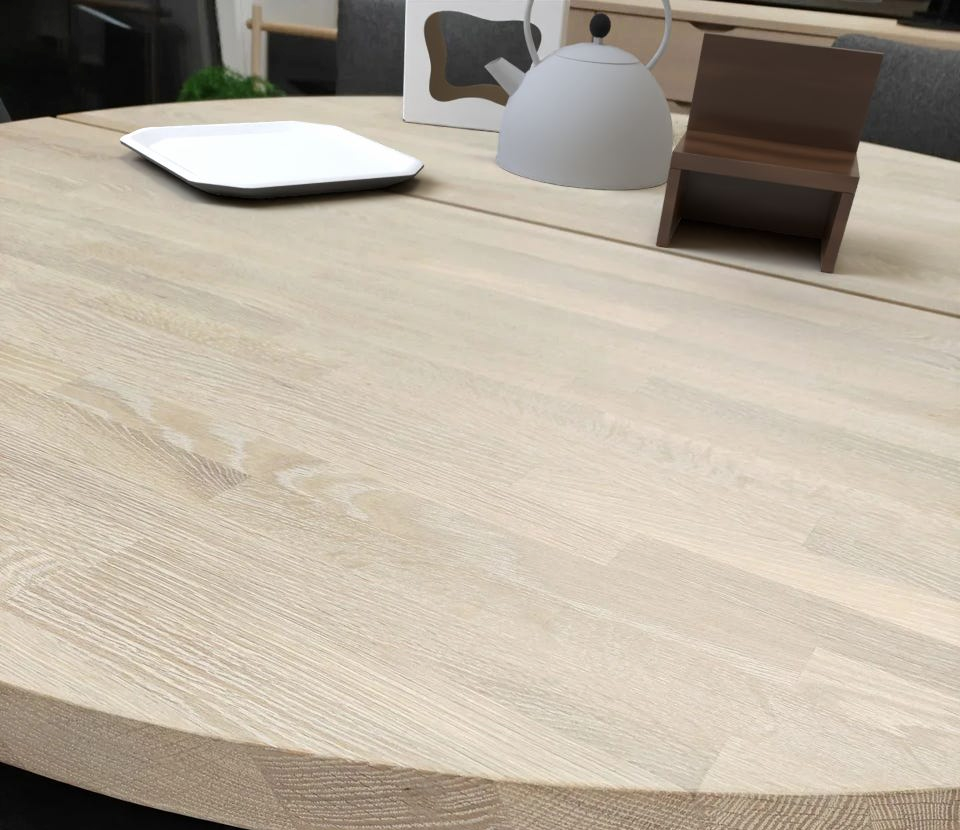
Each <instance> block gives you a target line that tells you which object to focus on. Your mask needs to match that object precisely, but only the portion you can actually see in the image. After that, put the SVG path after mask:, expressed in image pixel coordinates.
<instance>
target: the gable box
mask: <svg viewBox="0 0 960 830" xmlns="http://www.w3.org/2000/svg"><path fill="white" fill-rule="evenodd" d="M526 3H527V0H405V15H404V16H405V19H404V20H405V21H404V22H405V24H404V53H403V55H404V57H403V63H404V64H403V91H402V93H403V96H402V97H403V98H402V99H403V100H402V121H403V122H404V123H411V124H420V125H429V126H437V127H447V128H457V129H465V130H475V131H484V132H493V133H499V132H500V126H501V121H502V117H503V114H504V110H505V107H506V105H507V102H508V99H509V97H510V96H509V94H508V93H507V92H506V91H505V90H504V89H503V87H502V86H501V85H497V84H492V83H491V84H490V83H479V84H473V85H466V86H455V85H452V84H450V83H449V82H448V81H447V79H446V68H447V63H448V47H447V43H446V40H445V36H444V33H443V29H442V24H441V14H442V12H457V13H462V14H465V15H470V16H473V17H476V18H479V19H483V20H487V21H491V22H507V21H509V22H510V21H521V22H524V12H525V7H526ZM570 8H571V0H534V2H533V5H532V9H531V16H530V24H532V25H534V26H535V27H537V28H538V30H539V32H540V35H541V40H540V44H539V47H538V49H537V50H536V52H537V54H538V57H539V60H540V61H541V60H542V59H543V58H545V57H546V56H548V55H550V54H552V53H553V52H554V51H556V50H558V49H560V48H562V47H565V46H566V43H567V34H568V25H569V17H570V16H569V15H570ZM533 66H534V63H533V62H532V63H531V65H530V68H529V70H530V69H531V68H532V67H533Z"/></svg>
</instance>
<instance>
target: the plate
mask: <svg viewBox="0 0 960 830" xmlns="http://www.w3.org/2000/svg"><path fill="white" fill-rule="evenodd" d="M119 142H120V144H121V145H123V146H124V147H126V148H127V149H129V150H131V151H132V152H134V153H135V154H137V155H139V156H141V157H143V158H144V159H146V160H148V161H150V162H151V163H153V164H155V165H156V166H158V167H160V168H161V169H163V170H165V171H166V172H168V173H170V174H171V175H173V176H175V177H177V178H178V179H179V180H181V181H183V182H185V183H187V184H188V185H191V186H192V187H194V188H197V189H199V190H201V191H203V192H206V193H208V194H211V193H212V194H211V195H214V194H219V195H218V196H221V195H226V196H225V197H229V196H233V197H232V198H237V197H242V198H241V199H246V198H249V199H248V200H266V199H265V198H268V199H276V198H275V197H279V198H285V197H284V196H290V197H296V196H295V195H302V196H308V195H307V194H313V195H321V194H320V193H324V194H332V193H331V192H335V193H343V192H345V193H346V192H355V191H356V192H357V191H366V190H367V191H368V190H379V189H383V188H387V187H389V186H393V185H396V184H399V183H402V182H404V181H407V180H410V179H413V178H415V177H417V176H418V174H419V173H420V172H421V171H422V170H423V169H424V167H425V163H424V162H423V161H422V160H421V159H418V158H416V157H413V156H411V155H409V154H407V153H404V152H401V151H398V150H397V149H394V148H392V147H389V146H387V145H384V144H382V143H379V142H377V141H375V140H372V139H371V138H368V137H366V136H362V135H360V134H358V133H356V132H353V131H352V130H351V131H350V130H349V129H346V128H344V127H341V126H338V125H333V124H324V123H317V122H309V121H300V120H277V121H276V120H275V121H257V122H256V121H255V122H235V123H215V124H213V123H212V124H195V125H194V124H193V125H190V124H189V125H174V126H173V125H172V126H171V125H170V126H169V125H167V126H151V127H142V128H141V127H140V128H139V129H136V130H134V131H132V132H130V133H128V134H125V135H123V136H121V137H120V139H119Z"/></svg>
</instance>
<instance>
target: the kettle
mask: <svg viewBox="0 0 960 830" xmlns="http://www.w3.org/2000/svg"><path fill="white" fill-rule="evenodd" d="M533 2H534V0H527V3H526V7H525V12H524V21H523V34H524V37H525V42H526V45H527V46H526V47H527V49H528V52H529V55H530V58H531V60H532V63H534V66H533V67H532V68H531V67H530V68H531V69H530V68H529V69H528V70H527V71H526V72H524V71H522V70H521V69H520V68H518V67H517V66H515V65H514V64H512V63H511V62H510V61H508V60H506V59H505V58H504V57H498V58H496V59H494V60H492V61H490V62H488V63H487V64H486V65H484V68H485V69H486V70H487V72H489V74H490V75H491V76H492V77H493V78H494V80H495V81H496V82H497V83H498V85H499V86H501V87H503V89H504V90H505V91H506V92H507V93H508V94H509V96H510V97H509V99H508V102H507V105H506V107H505V110H504V114H503V117H502V121H501V126H500V132H498V139H497V151H496V156H495V162H496V164H497V165H498V166H499V167H500V168H502V169H503V170H505V171H507V172H509V173H511V174H514V175H517V176H519V177H523V178H526V179H530V180H533V181H537V182H542V183H547V184H552V185H559V186H562V187H563V186H564V187H571V188H579V189H591V190H609V191H621V190H623V191H625V190H640V189H648V188H654V187H659V186H661V185H664V184H665V183H667V179H668V174H669V168H670V162H671V157H672V152H673V149H674V147H673V146H674V127H673V120H672V114H671V110H670V105H669V103H668V100H667V97H666V95H665V92H664V91H663V89H662V87H661V86H660V84H659V82H658V80H656V77H655V76H654V75H653V74H652V73H651V71H652V70H653V68H655V67H656V65H657V64H658V63H659V62H660V60H661V59H662V57H663V56H664V54H665V52H666V50H667V48H668V46H669V43H670V40H671V35H672V27H673V14H672V13H673V12H672V6H671V1H670V0H661V3H662V5H663V9H664V17H665V18H664V19H665V20H664V21H665V26H664V34H663V38H662V41H661V43H660V45H659V47H658V49H657V51H656V53H655V54H654V56H653V57H652V58H651V60H650V61H649V62H648V63H647V64H646V65H644V64H643V63H642V62H641V61H640V60H639V58H637V57H636V56H635V55H633V53H631V52H628V51H626V50H624V49H622V48H619V47H617V46H615V45H613V44H607V43H604V38H606V37H607V36H608V35H609V34H610V32H611V28H612V21H611V19H610V17H609V16H608V15H607V14H606V13H603V12H598V13H596V14H594V15H593V16H592V18H591V19H590V20H589V21H590V22H589V32H590V34H591V35H592V36H593V42H578V43H575V44H570V45H565V47H562V48H560V49H558V50H556V51H554V52H553V53H552V54H550V55H548V56H546V57H545V58H543V59H542V60H541V61H540V60H539V57H538V54H537V49H536V46H535V43H534V39H533V35H532V29H531V23H530V16H531V9H532V5H533Z"/></svg>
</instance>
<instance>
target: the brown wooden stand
mask: <svg viewBox="0 0 960 830" xmlns="http://www.w3.org/2000/svg"><path fill="white" fill-rule="evenodd" d="M702 37H703V38H702V43H701V49H700V54H699V60H698V65H697V70H696V75H695V81H694V86H693V92H692V98H691V104H690V109H689V116H688V120H687V125H686V130H685V131H684V133H683V135H682V136H681V138H680V139H679V141H678V142H677V144H676V145H675V147H674V148H673V149H672V157H671V162H670V168H669V174H668V179H667V182H666V186H665V191H664V197H663V202H662V203H663V204H662V209H661V214H660V220H659V226H658V231H657V236H656V241H655V245H656V246H657V247H663V248H668V246H669V244H670V242H671V240H672V238H673V237H674V234H675V232H676V230H677V227H678V226H679V223H680V222H681V219H682V220H689V221H697V222H703V223H709V224H717V225H722V226H731V227H737V228H744V229H750V230H756V231H762V232H769V233H770V232H771V233H776V234H783V235H790V236H796V237H802V238H803V237H804V238H809V239H817V240H820V272H823V273H829V274H833V273H834V271H835V270H834V269H835V266H836V263H837V260H838V255H839V253H840V249H841V245H842V242H843V238H844V235H845V232H846V229H847V225H848V220H849V217H850V213H851V211H852V207H853V203H854V200H855V197H856V194H857V193H856V192H857V189H858V186H859V183H860V179H861V176H860V168H859V161H858V154H857V153H858V149H859V145H860V142H861V139H862V135H863V132H864V129H865V124H866V120H867V118H868V114H869V111H870V107H871V103H872V99H873V97H874V92H875V89H876V85H877V82H878V78H879V74H880V72H881V67H882V64H883V61H884V57H885V53H884V52H880V51H871V50H870V51H869V50H862V49H854V48H845V47H836V46H828V45H821V44H812V43H803V42H802V43H801V42H794V41H786V40H785V41H784V40H777V39H768V38H759V37H750V36H743V35H735V34H734V35H733V34H726V33H719V32H717V33H716V32H709V31H705V32H704V33H703V36H702Z"/></svg>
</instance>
